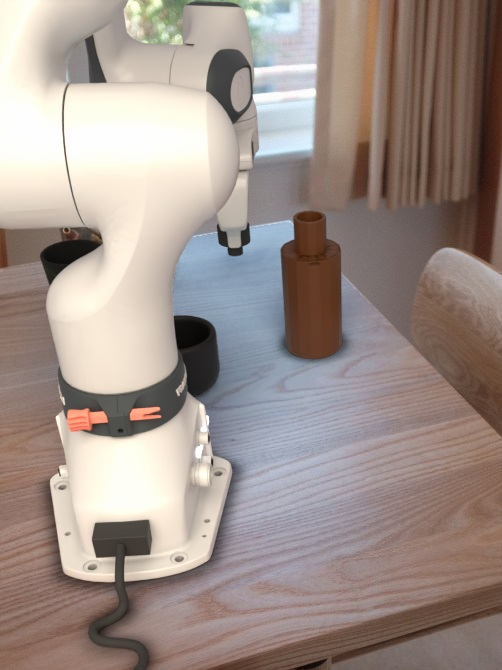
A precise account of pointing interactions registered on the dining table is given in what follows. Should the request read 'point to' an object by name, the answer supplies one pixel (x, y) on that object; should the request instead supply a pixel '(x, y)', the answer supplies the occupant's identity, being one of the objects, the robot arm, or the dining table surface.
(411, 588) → the dining table surface
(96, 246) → the cup
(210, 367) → the mug
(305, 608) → the dining table surface
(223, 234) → the cylinder
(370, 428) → the dining table surface
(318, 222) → the bottle
